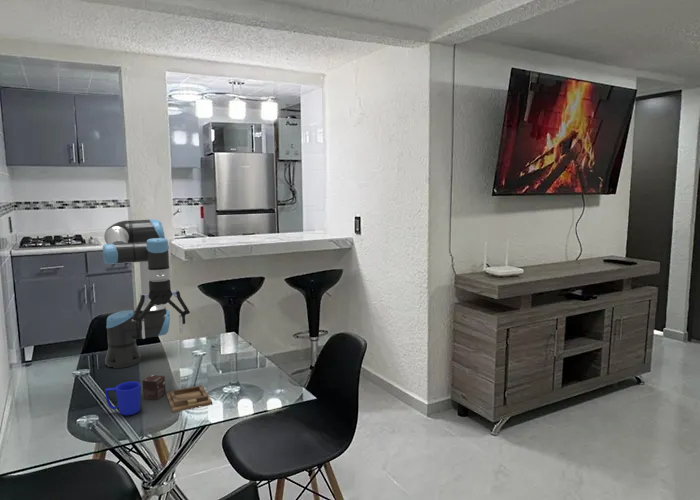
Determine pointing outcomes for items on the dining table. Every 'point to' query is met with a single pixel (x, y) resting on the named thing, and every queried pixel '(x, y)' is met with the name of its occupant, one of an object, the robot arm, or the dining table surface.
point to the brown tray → (188, 398)
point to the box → (154, 387)
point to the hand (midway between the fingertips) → (162, 335)
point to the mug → (126, 397)
